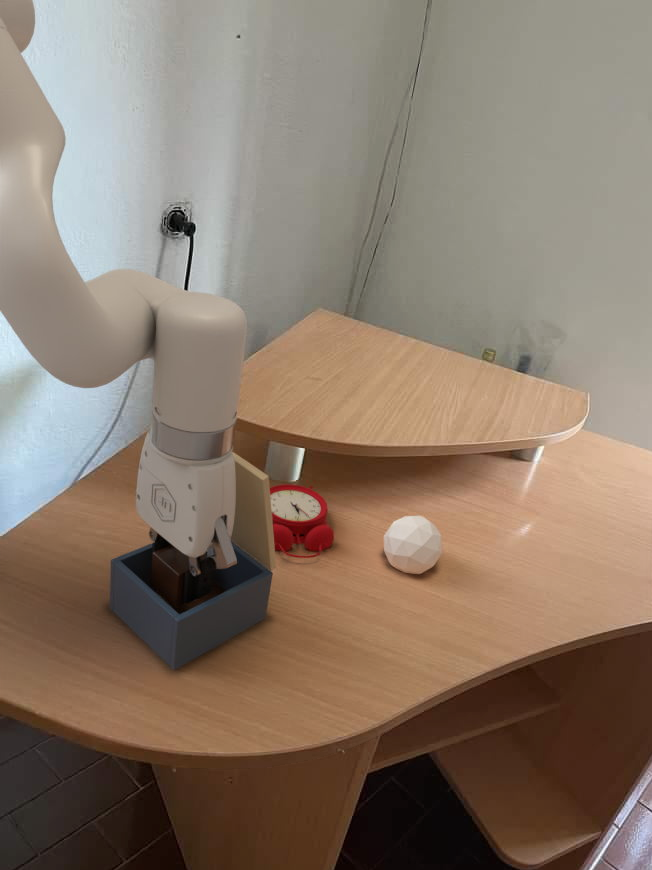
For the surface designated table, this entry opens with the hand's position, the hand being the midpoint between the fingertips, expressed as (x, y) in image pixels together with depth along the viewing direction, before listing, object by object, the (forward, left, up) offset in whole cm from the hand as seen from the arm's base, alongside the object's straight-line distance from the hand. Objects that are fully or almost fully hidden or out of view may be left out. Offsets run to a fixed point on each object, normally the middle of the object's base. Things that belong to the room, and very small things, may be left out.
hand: (180, 581), depth 73 cm
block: (0, 0, -1) cm, 1 cm away
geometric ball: (+9, +31, -7) cm, 32 cm away
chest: (0, +2, -6) cm, 7 cm away
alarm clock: (-5, +23, -7) cm, 24 cm away
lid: (0, +6, +8) cm, 10 cm away
